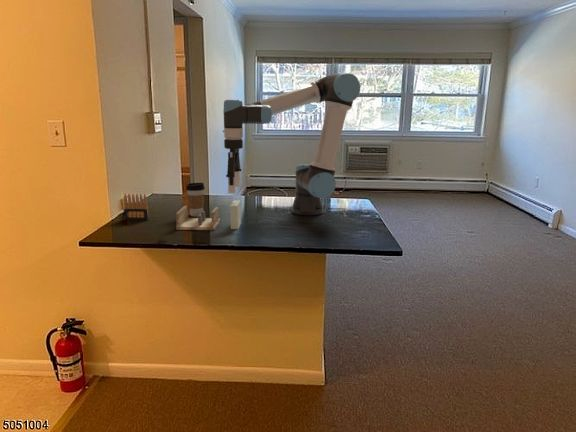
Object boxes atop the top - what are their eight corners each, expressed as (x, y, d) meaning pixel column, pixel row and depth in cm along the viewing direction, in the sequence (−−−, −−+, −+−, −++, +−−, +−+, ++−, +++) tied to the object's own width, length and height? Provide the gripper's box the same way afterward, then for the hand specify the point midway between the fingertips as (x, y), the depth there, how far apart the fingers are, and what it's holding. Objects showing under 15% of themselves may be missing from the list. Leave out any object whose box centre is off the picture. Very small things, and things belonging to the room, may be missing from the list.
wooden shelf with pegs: (220, 220, 197) (219, 205, 195) (214, 230, 184) (213, 213, 182) (184, 220, 198) (184, 205, 196) (176, 229, 184) (175, 213, 182)
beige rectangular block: (241, 222, 195) (240, 200, 192) (237, 229, 185) (237, 205, 183) (234, 222, 195) (233, 200, 192) (230, 229, 185) (230, 205, 183)
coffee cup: (201, 217, 202) (200, 185, 198) (184, 216, 204) (182, 184, 200) (208, 213, 210) (207, 182, 206) (191, 212, 212) (190, 181, 208)
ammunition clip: (149, 219, 200) (147, 193, 197) (148, 220, 198) (146, 194, 195) (126, 218, 200) (123, 192, 197) (124, 219, 198) (122, 193, 195)
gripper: (229, 135, 193) (230, 183, 198) (218, 141, 169) (220, 195, 174) (246, 136, 192) (246, 184, 198) (238, 141, 168) (239, 196, 174)
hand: (234, 189), depth 186 cm, fingers open, 13 cm apart
